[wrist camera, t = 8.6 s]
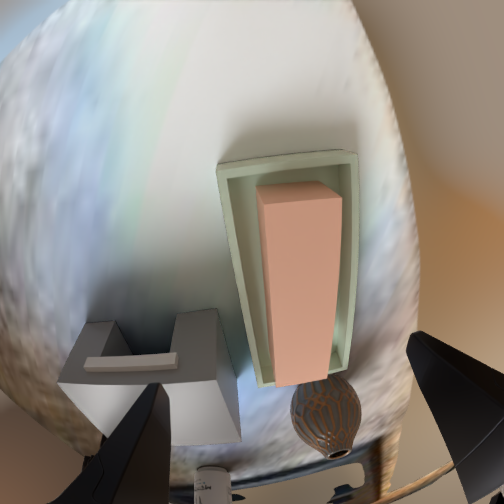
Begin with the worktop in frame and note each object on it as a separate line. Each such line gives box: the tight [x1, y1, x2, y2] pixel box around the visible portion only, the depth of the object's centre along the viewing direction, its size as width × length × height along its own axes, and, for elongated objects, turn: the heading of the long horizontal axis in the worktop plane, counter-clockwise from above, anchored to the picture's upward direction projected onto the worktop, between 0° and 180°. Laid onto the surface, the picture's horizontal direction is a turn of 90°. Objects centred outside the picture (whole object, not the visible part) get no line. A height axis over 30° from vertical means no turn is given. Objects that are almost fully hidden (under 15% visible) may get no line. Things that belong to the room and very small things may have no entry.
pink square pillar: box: [255, 181, 342, 388], centre depth 19 cm, size 14×4×4 cm, turn 5°
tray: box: [216, 149, 359, 388], centre depth 20 cm, size 18×8×2 cm, turn 8°
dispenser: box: [57, 308, 242, 446], centre depth 20 cm, size 10×12×7 cm
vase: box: [290, 374, 361, 460], centre depth 23 cm, size 7×7×9 cm
